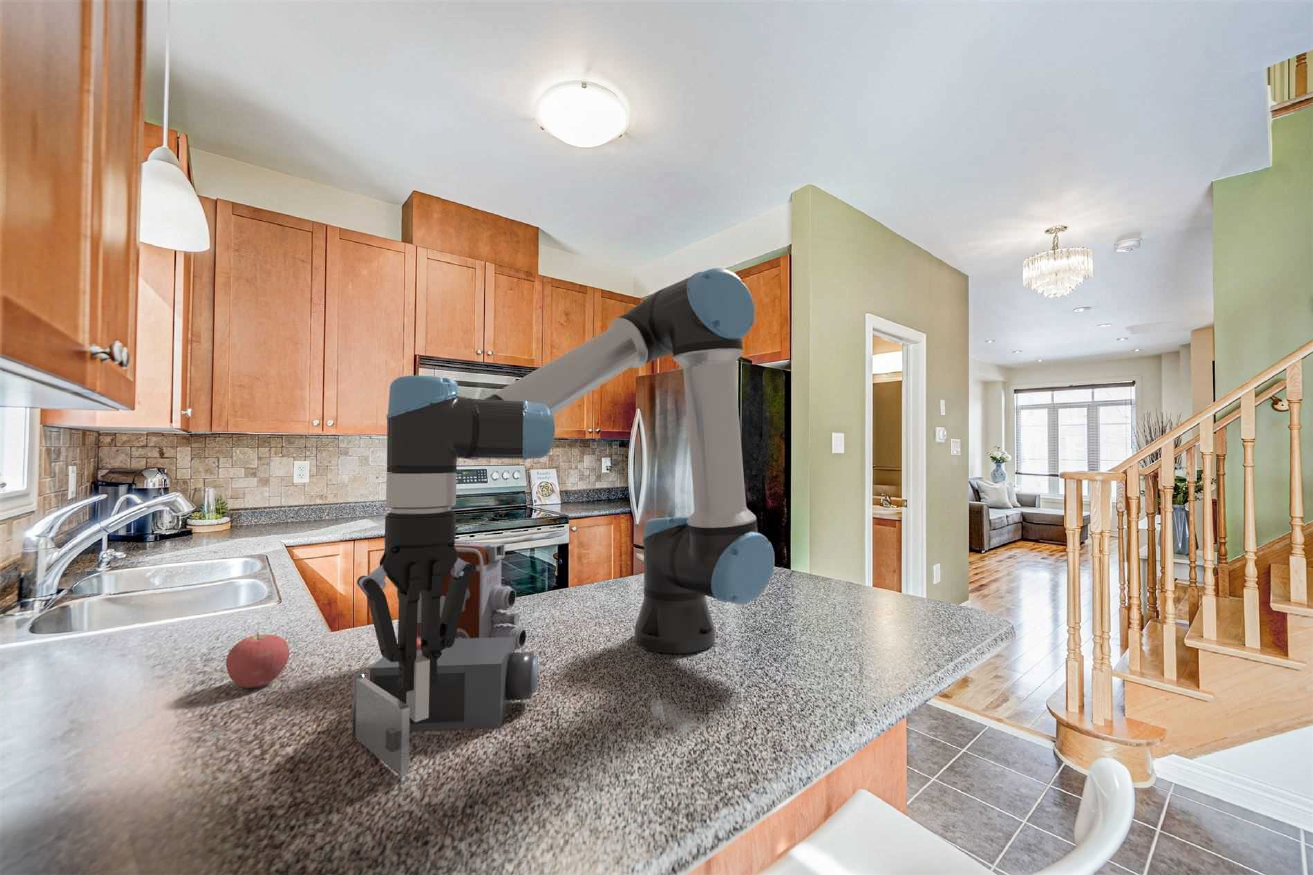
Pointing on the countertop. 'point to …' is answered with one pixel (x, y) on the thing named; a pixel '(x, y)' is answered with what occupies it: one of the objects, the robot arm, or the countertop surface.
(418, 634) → the cine camera
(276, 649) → the apple
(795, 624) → the countertop surface
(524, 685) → the camera block
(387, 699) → the side door
